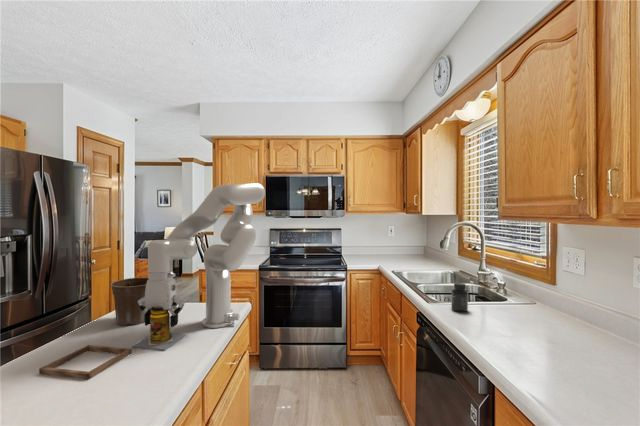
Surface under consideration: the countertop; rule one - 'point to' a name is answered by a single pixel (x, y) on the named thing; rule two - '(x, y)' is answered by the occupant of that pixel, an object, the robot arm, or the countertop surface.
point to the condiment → (159, 327)
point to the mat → (164, 346)
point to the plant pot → (129, 300)
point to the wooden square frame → (54, 371)
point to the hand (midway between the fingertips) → (161, 324)
